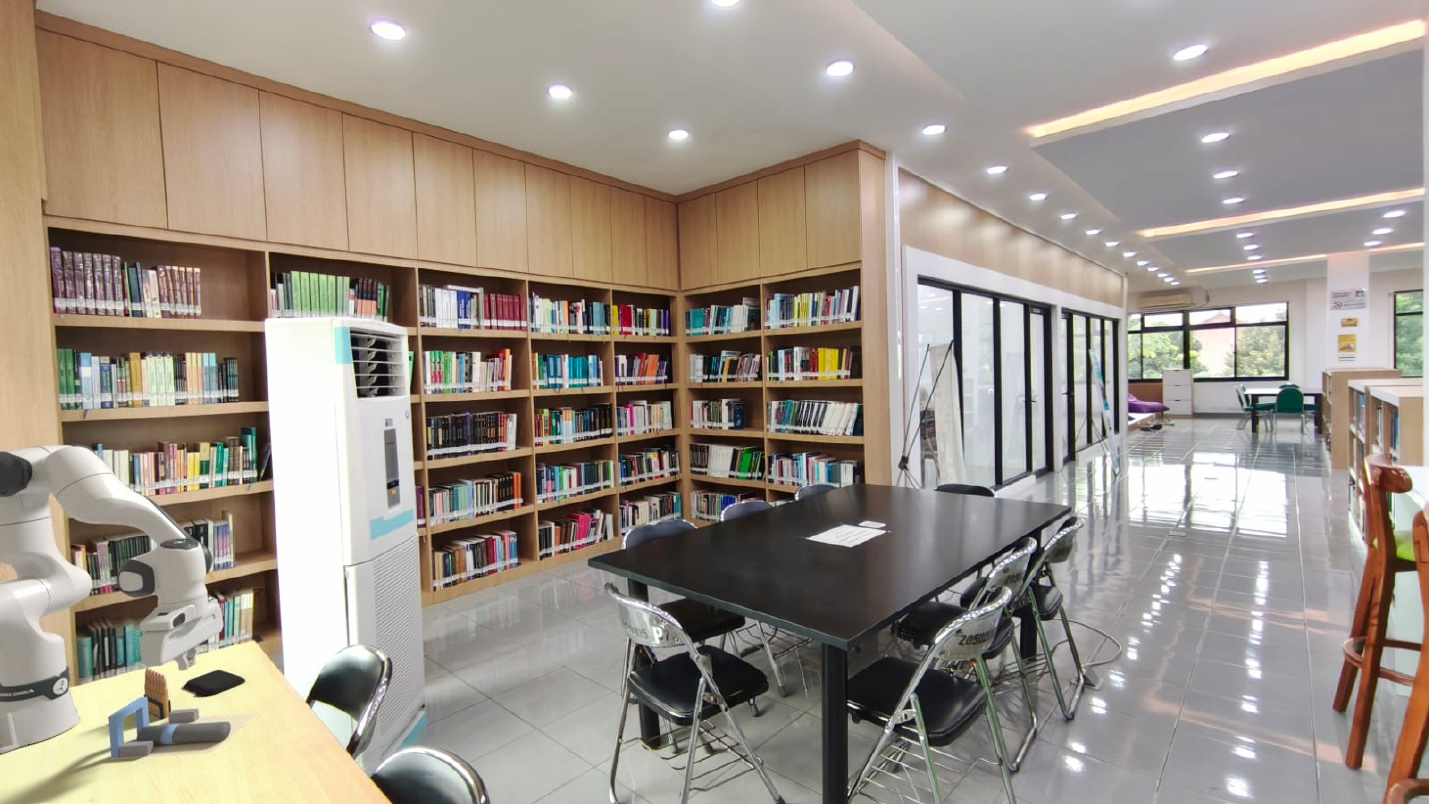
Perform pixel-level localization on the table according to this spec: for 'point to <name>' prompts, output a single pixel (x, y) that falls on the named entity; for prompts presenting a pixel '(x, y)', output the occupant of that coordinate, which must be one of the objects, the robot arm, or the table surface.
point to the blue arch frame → (117, 722)
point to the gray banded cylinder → (185, 733)
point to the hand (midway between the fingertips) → (187, 667)
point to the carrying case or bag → (213, 683)
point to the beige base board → (183, 717)
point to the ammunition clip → (157, 694)
